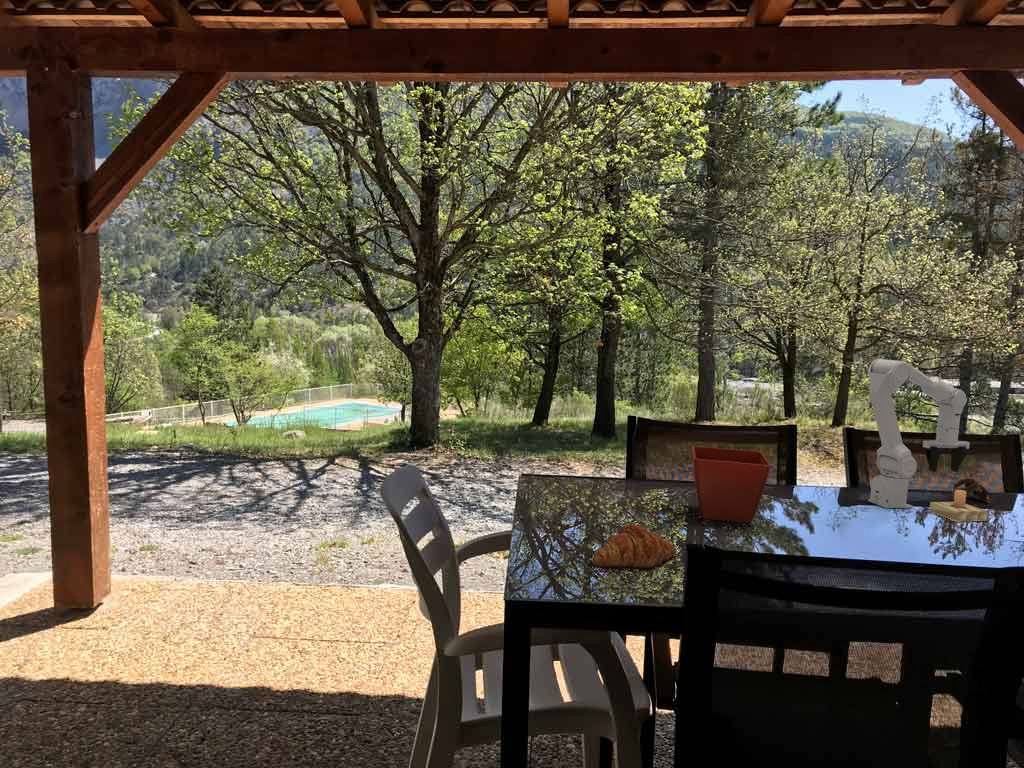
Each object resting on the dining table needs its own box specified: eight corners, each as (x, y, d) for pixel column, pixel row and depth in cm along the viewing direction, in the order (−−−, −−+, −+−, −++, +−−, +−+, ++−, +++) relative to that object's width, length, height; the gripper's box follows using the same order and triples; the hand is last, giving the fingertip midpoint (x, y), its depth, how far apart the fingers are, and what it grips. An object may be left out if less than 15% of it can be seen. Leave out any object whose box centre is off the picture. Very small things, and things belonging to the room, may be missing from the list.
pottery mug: (993, 508, 228) (982, 485, 228) (959, 516, 234) (948, 493, 233) (990, 491, 238) (979, 468, 238) (958, 499, 244) (947, 477, 243)
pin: (957, 516, 212) (959, 492, 211) (950, 513, 215) (952, 489, 214) (966, 516, 213) (968, 492, 212) (959, 513, 215) (961, 489, 215)
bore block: (955, 522, 208) (956, 511, 208) (929, 512, 218) (930, 502, 218) (986, 521, 210) (987, 511, 210) (959, 511, 220) (960, 501, 220)
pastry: (661, 580, 153) (664, 542, 152) (589, 567, 158) (591, 530, 158) (676, 556, 168) (678, 521, 167) (609, 545, 174) (611, 511, 173)
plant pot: (765, 528, 193) (771, 464, 191) (689, 521, 197) (694, 458, 195) (757, 510, 211) (761, 451, 210) (687, 503, 215) (691, 445, 213)
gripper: (936, 429, 222) (932, 474, 224) (979, 429, 225) (974, 474, 226) (919, 425, 229) (915, 468, 231) (961, 426, 232) (956, 469, 233)
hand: (943, 471), depth 229 cm, fingers open, 7 cm apart
